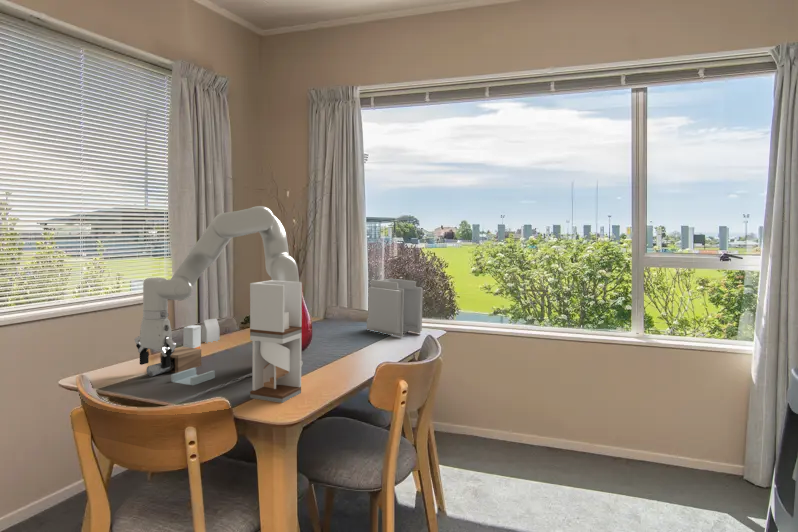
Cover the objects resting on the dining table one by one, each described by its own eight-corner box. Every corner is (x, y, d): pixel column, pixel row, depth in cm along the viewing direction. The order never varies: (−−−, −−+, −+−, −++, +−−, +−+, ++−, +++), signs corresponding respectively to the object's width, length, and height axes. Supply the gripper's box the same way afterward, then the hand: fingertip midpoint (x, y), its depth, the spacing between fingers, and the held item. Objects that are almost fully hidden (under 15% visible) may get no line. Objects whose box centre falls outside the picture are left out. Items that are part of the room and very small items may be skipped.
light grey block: (219, 340, 249) (219, 318, 248) (206, 343, 243) (206, 320, 243) (214, 339, 251) (214, 317, 250) (201, 342, 245) (201, 319, 245)
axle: (186, 366, 200) (183, 356, 200) (193, 363, 199) (190, 354, 199) (148, 377, 185) (145, 367, 185) (155, 375, 183) (152, 364, 183)
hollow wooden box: (201, 369, 199) (201, 349, 199) (178, 377, 189) (178, 355, 189) (184, 367, 203) (184, 346, 202) (160, 374, 192) (160, 353, 192)
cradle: (215, 381, 184) (215, 370, 184) (193, 389, 175) (192, 378, 175) (194, 378, 188) (194, 367, 188) (171, 386, 179) (171, 374, 178)
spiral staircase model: (250, 397, 168) (250, 283, 166) (270, 388, 178) (270, 280, 176) (282, 402, 164) (282, 285, 162) (301, 393, 174) (301, 282, 172)
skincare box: (192, 358, 216) (192, 328, 215) (183, 357, 217) (182, 327, 216) (201, 355, 222) (201, 325, 221) (191, 354, 223) (191, 324, 222)
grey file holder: (386, 326, 291) (387, 277, 289) (423, 334, 272) (424, 281, 270) (361, 330, 279) (362, 279, 277) (398, 339, 260) (399, 283, 258)
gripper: (183, 316, 184) (183, 366, 185) (145, 311, 191) (144, 360, 192) (166, 319, 177) (165, 371, 179) (126, 313, 184) (126, 364, 185)
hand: (154, 365), depth 185 cm, fingers open, 9 cm apart
